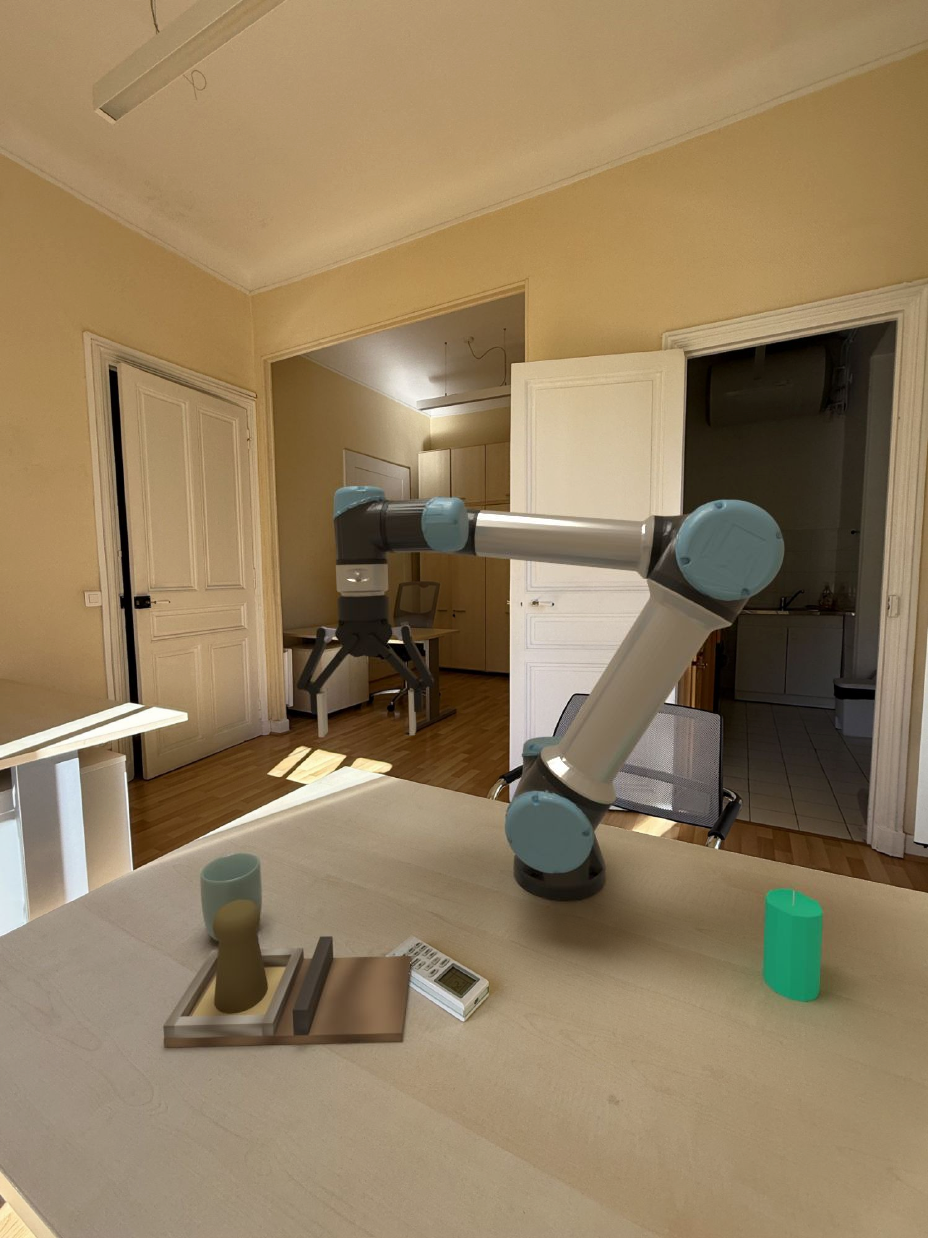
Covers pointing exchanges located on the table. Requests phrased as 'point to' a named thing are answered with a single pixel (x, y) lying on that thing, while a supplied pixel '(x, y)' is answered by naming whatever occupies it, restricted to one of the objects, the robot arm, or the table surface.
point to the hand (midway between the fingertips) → (368, 733)
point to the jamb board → (343, 1005)
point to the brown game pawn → (238, 958)
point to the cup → (229, 884)
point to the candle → (792, 944)
